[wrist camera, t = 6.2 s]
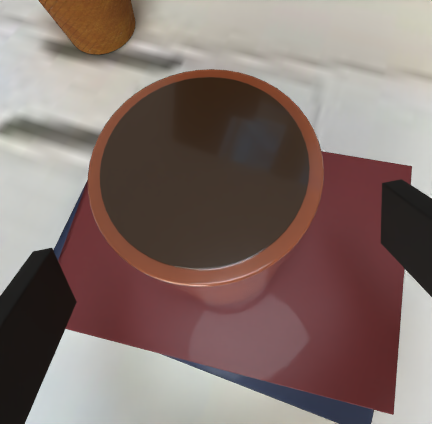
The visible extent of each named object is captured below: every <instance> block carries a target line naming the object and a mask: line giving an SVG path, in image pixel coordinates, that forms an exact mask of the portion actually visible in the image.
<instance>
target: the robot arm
mask: <svg viewBox="0 0 432 424" xmlns="http://www.w3.org/2000/svg"><path fill="white" fill-rule="evenodd" d="M381 244H382V245H383V246H384V247H385V248H386V249H387V250H388V251H389V252H390V253H391V255H392V256H393V257H394V258H395V259H396V260H397V261H398V262H399V263H400V264H401V265H402V266H403V267H404V268H405V269H406V270H407V271H408V272H409V274H410V275H411V276H412V277H413V278H414V279H415V280H416V281H417V282H418V283H419V284H420V285H421V286H422V287H423V288H424V289H425V290H426V291H427V293H428V294H429V295H430V296H431V297H432V199H431V198H430V197H428V196H427V195H425V194H424V193H422V192H421V191H419V190H418V189H416V188H415V187H413V186H411V185H410V184H408V183H407V182H405V181H404V180H402V179H400V180H394V181H389V182H384V183H382V204H381ZM76 302H77V301H76V299H75V297H74V295H73V293H72V290H71V288H70V286H69V284H68V282H67V279H66V277H65V275H64V273H63V271H62V268H61V266H60V264H59V262H58V260H57V258H56V255H55V253H54V251H53V249H52V248H49V249H44V250H39V251H34V252H32V254H31V255H30V257H29V258H28V259H27V261H26V262H25V263H24V265H23V266H22V267H21V269H20V270H19V271H18V273H17V274H16V276H15V277H14V278H13V280H12V281H11V282H10V284H9V285H8V286H7V288H6V289H5V290H4V292H3V293H2V295H1V296H0V424H25V421H26V419H27V417H28V414H29V412H30V410H31V407H32V405H33V403H34V400H35V398H36V396H37V393H38V391H39V389H40V386H41V384H42V382H43V379H44V377H45V375H46V372H47V370H48V368H49V365H50V363H51V361H52V358H53V356H54V354H55V351H56V349H57V347H58V344H59V342H60V340H61V337H62V335H63V333H64V330H65V328H66V326H67V323H68V321H69V319H70V316H71V314H72V312H73V309H74V307H75V305H76Z"/></svg>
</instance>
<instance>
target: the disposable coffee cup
mask: <svg viewBox="0 0 432 424" xmlns="http://www.w3.org/2000/svg"><path fill="white" fill-rule="evenodd" d="M39 2H40V3H41V4H42V5H43V6H44V8H45V9H46V10H47V12H48V13H49V14H50V15H51V16H52V18H53V19H54V20H55V22H56V23H57V24H58V25H59V26H60V28H61V29H62V30H63V31H64V33H65V34H66V35H67V36H68V38H69V39H70V40H71V41H72V43H73V44H74V45H75V46H76V47H77V48H78V49H79V50H81V51H83V52H86V53H89V54H105V53H109V52H112V51H115V50H116V49H118V48H120V47H122V46H123V45H124V44H125V43H126V42H127V41H128V40H129V39H130V38H131V36H132V34H133V32H134V29H135V17H134V13H133V8H132V4H131V0H39Z"/></svg>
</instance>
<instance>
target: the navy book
mask: <svg viewBox="0 0 432 424" xmlns="http://www.w3.org/2000/svg"><path fill="white" fill-rule="evenodd" d="M87 181H88V180H87ZM86 183H87V182H86ZM85 186H86V184H85ZM85 186H84V188H83V191H84V189H85ZM83 191H82V193H81V195H80V197H79V199H78V201H77V203H76V205H75V207H74V209H73V211H72V213H71V215H70V217H69V219H68V221H67V224H66V226H65V228H64V230H63V232H62V234H61V236H60V238H59V240H58V242H57V244H56V246H55V248H54V250H53V251H54V253H55V255H56V258H57V260H58V259H59V257H60V254H61V251H62V249H63V246H64V243H65V240H66V238H67V235H68V232H69V230H70V227H71V224H72V221H73V219H74V216H75V213H76V210H77V208H78V205H79V202H80V200H81V197H82V194H83ZM159 354H160V353H159ZM162 355H164V354H162ZM165 356H167V357H170V358H172V359H175V360H177V361H180V362H183V363H185V364H188V365H190V366H193V367H195V368H198V369H200V370H203V371H206V372H208V373H211V374H213V375H216V376H218V377H221V378H224V379H226V380H229V381H231V382H234V383H236V384H239V385H242V386H244V387H247V388H249V389H252V390H254V391H257V392H259V393H262V394H265V395H267V396H270V397H272V398H275V399H277V400H280V401H283V402H285V403H288V404H290V405H293V406H295V407H298V408H300V409H303V410H306V411H308V412H311V413H313V414H316V415H318V416H321V417H324V418H326V419H329V420H331V421H334V422H336V423H339V424H371V422H372V417H373V412H374V410H373V409H369V408H366V407H362V406H358V405H354V404H350V403H347V402H343V401H339V400H335V399H331V398H328V397H324V396H320V395H316V394H312V393H309V392H305V391H301V390H297V389H293V388H289V387H286V386H282V385H278V384H274V383H270V382H267V381H263V380H259V379H255V378H251V377H248V376H244V375H240V374H236V373H232V372H229V371H225V370H221V369H217V368H213V367H209V366H206V365H202V364H198V363H194V362H190V361H187V360H183V359H179V358H175V357H171V356H168V355H165Z"/></svg>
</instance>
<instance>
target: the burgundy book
mask: <svg viewBox="0 0 432 424" xmlns="http://www.w3.org/2000/svg"><path fill="white" fill-rule="evenodd" d="M321 152H322V151H321ZM322 156H323V166H324V182H323V190H322V195H321V200H320V203H319V206H318V209H317V211H316V214H315V216H314V218H313V220H312V222H311V224H310V226H309V228H308V230H307V231H306V233H305V235H304V236H303V238H302V239H301V241H300V242H299V244H298V245H297V246H296V248H295V249H294V251H293V252H292V253H291V254H290V255H289V256H288V257H287V258H286V259H285V260H284V261H283V262H282V264H281V266H280V267H279V269H278V271H277V273H276V275H275V276H274V277H273V279H272V280H271V281H270V282H269V283H268V284H267V285H266V286H265V287H264V288H263V289H262V290H261V291H259V292H258V293H256V294H255V295H253V296H251V297H249V298H247V299H244V300H242V301H238V302H234V303H227V304H216V303H208V302H205V301H201V300H198V299H196V298H194V297H192V296H190V295H188V294H187V293H185V292H183V291H182V290H180V289H179V288H175V287H171V286H168V285H166V284H164V283H161V282H159V281H157V280H154V279H153V278H151V277H149V276H147V275H146V274H144V273H142V272H141V271H139V270H137V269H136V268H134V267H133V266H131V265H130V264H128V263H127V262H126V261H125V260H124V259H122V258H121V257H120V256H119V255H118V254H117V253H116V252H115V251H114V250H113V248H112V247H111V246H110V245H109V244H108V242H107V241H106V239H105V238H104V236H103V235H102V233H101V232H100V230H99V228H98V226H97V223H96V221H95V219H94V216H93V213H92V210H91V206H90V201H89V194H88V181H87V183H86V186H85V189H84V191H83V194H82V197H81V200H80V202H79V205H78V208H77V210H76V213H75V216H74V219H73V221H72V224H71V227H70V230H69V232H68V235H67V238H66V240H65V243H64V246H63V249H62V251H61V254H60V257H59V259H58V262H59V264H60V266H61V268H62V271H63V273H64V275H65V277H66V279H67V282H68V284H69V286H70V288H71V290H72V293H73V295H74V297H75V299H76V301H77V302H76V305H75V307H74V309H73V312H72V314H71V316H70V319H69V321H68V323H67V326H66V328H65V329H69V330H72V331H76V332H80V333H84V334H88V335H91V336H95V337H99V338H103V339H107V340H110V341H114V342H118V343H122V344H126V345H129V346H133V347H137V348H141V349H145V350H149V351H152V352H156V353H160V354H164V355H168V356H171V357H175V358H179V359H183V360H187V361H190V362H194V363H198V364H202V365H206V366H209V367H213V368H217V369H221V370H225V371H229V372H232V373H236V374H240V375H244V376H248V377H251V378H255V379H259V380H263V381H267V382H270V383H274V384H278V385H282V386H286V387H289V388H293V389H297V390H301V391H305V392H309V393H312V394H316V395H320V396H324V397H328V398H331V399H335V400H339V401H343V402H347V403H350V404H354V405H358V406H362V407H366V408H369V409H373V410H377V411H381V412H385V413H389V414H392V415H393V414H394V401H395V387H396V374H397V361H398V347H399V334H400V320H401V307H402V293H403V280H404V267H403V266H402V265H401V264H400V263H399V262H398V261H397V260H396V259H395V258H394V257H393V256H392V255H391V253H390V252H389V251H388V250H387V249H386V248H385V247H384V246H383V245H382V244H381V204H382V183H384V182H389V181H394V180H400V179H402V180H404V181H405V182H407V183H408V184H410V185H411V172H412V166H407V165H401V164H395V163H389V162H383V161H376V160H370V159H364V158H358V157H352V156H346V155H340V154H334V153H328V152H322Z"/></svg>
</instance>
